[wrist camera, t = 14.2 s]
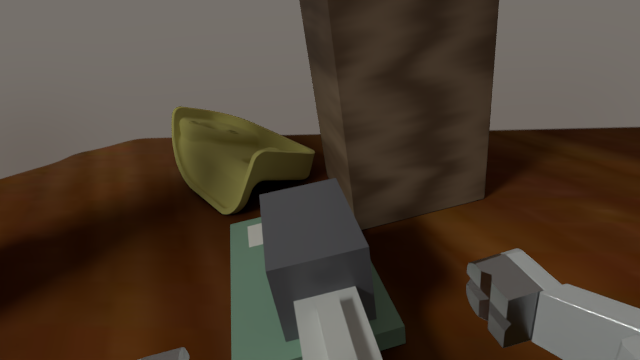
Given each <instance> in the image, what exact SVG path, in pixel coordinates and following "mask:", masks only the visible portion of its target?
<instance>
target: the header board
mask: <svg viewBox="0 0 640 360" xmlns="http://www.w3.org/2000/svg"><path fill="white" fill-rule="evenodd" d="M230 248H231V342H232V360H303V358H302V351H301V345H300V339H296V340H293V341H289V342H286V341H285V337H284V334H283V330H282V327H281V323H280V320H279V317H278V313H277V310H276V306H275V303H274V299H273V296H272V292H271V289H270V285H269V282H268V279H267V275H266V272H265V260H264V247H263V235H262V222H261V217H259V218H255V219H251V220H247V221H243V222H239V223H235V224H231V225H230ZM370 261H371V260H370ZM371 270H372V280H373V289H374V298H375V307H376V316H377V319H374V320H370V321H369V324H370V327H371V329H372V332H373V335H374V337H375V340H376V343H377V345H378V348H379V351H381V350H385V349H388V348H391V347H395V346H398V345H401V344H405V343H406V339H405V326H404V324H403V322H402V320H401V318H400V316H399V314H398V312H397V310H396V308H395V306H394V304H393V303H392V301H391V299H390V297H389V295H388V293H387V291H386V289H385V287H384V285H383V283H382V281H381V279H380V277H379V276H378V274H377V272H376V270H375V268H374V266H373V264H372V262H371Z"/></svg>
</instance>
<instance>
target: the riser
mask: <svg viewBox="0 0 640 360" xmlns="http://www.w3.org/2000/svg"><path fill="white" fill-rule="evenodd" d="M498 6H499V0H300V7H301V13H302V19H303V25H304V32H305V38H306V45H307V51H308V57H309V64H310V70H311V76H312V83H313V89H314V95H315V102H316V108H317V114H318V120H319V126H320V133H321V140H322V146H323V152H324V158H325V165H326V171H327V176H328V178H329V179H333V178H336V179H337V181H338V183H339V185H340V187H341V189H342V192H343V194H344V196H345V198H346V200H347V202H348V204H349V206H350V208H351V210H352V212H353V215H354V217H355V219H356V221H357V223H358V225H359V227H360V229H361V230H364V229H368V228H371V227H375V226H379V225H383V224H387V223H391V222H395V221H399V220H403V219H406V218H410V217H414V216H418V215H422V214H426V213H430V212H434V211H438V210H441V209H445V208H449V207H453V206H457V205H461V204H465V203H469V202H472V201H476V200H480V199H484V194H485V180H486V167H487V154H488V140H489V127H490V114H491V100H492V87H493V73H494V60H495V46H496V33H497V19H498Z"/></svg>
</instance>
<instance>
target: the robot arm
mask: <svg viewBox="0 0 640 360" xmlns="http://www.w3.org/2000/svg"><path fill="white" fill-rule="evenodd" d="M467 274H468V275H469V276H470V278H471V279H470V280H469V282H468V283H467V285H466V289H467V296H468V300H469V303H470V305H471V307H472V308H473V310H474V311H475V313H476V314H477V315H478V317H480V318H483V319H485V320H487V321H488V330H489V331H490V332H491V333H492V335H493V336H494V337H495V339H496V340H497V341H498V342H499V344H500V345H501V346H502V347H503V348H505V347H509V346H512V345H515V344H519V343H522V342H526V341H529V340H532V342H534V343H535V344H537V345H539V346H541V347H542V348H544V349H546V350H547V351H549V352H551V353H553V354H554V355H556V356H558V357H560V358H561V359H563V360H640V309H639V308H636V307H633V306H630V305H627V304H624V303H621V302H618V301H616V300H613V299H610V298H607V297H604V296H601V295H598V294H595V293H593V292H590V291H587V290H584V289H581V288H578V287H575V286H572V285H570V284H564V285H562V284H560V283H559V282H558V281H557V280H556V279H555V278H554V277H552V276H551V275H550V274H549V273H548V272H547V271H545V270H544V269H543V268H542V267H541V266H540V265H539V264H537V263H536V262H535V261H534V260H533V259H532V258H530V257H529V256H528V255H527V254H526V253H525V252H524V251H522V250H520V249H518V248H517V249H513V250H510V251H507V252H503V253H501V254H496V255H493V256H490V257H486V258H483V259H480V260H477V261H473V262H470V263H469V264H468V266H467ZM138 360H189V354H188V352H187V351H186V349H185V348H178V349H174V350H171V351H167V352H163V353H159V354H156V355H152V356H148V357H144V358H142V359H138Z"/></svg>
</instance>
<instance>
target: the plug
mask: <svg viewBox="0 0 640 360" xmlns="http://www.w3.org/2000/svg"><path fill="white" fill-rule="evenodd" d="M259 197H260V210H261V222H262V235H263V247H264V260H265V272H266V275H267V279H268V282H269V285H270V289H271V292H272V296H273V299H274V303H275V306H276V310H277V313H278V317H279V320H280V323H281V327H282V330H283V334H284V337H285V341H286V342H289V341H293V340H296V339H300V345H301V351H302V358H303V360H383V359H382V356H381V353H380V351H379V348H378V345H377V343H376V340H375V337H374V335H373V332H372V329H371V327H370V324H369V321H370V320H374V319H377V316H376V307H375V298H374V289H373V280H372V270H371V261H370V252H369V246H368V244H367V242H366V240H365V237H364V235H363V233H362V231H361V229H360V227H359V225H358V223H357V221H356V219H355V217H354V215H353V212H352V210H351V208H350V206H349V204H348V202H347V200H346V198H345V196H344V194H343V192H342V189H341V187H340V185H339V183H338V181H337V179H336V178H333V179H328V180H324V181H319V182H315V183H310V184H306V185H301V186H297V187H292V188H288V189H283V190H279V191H274V192H270V193H265V194H260V195H259Z"/></svg>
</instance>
